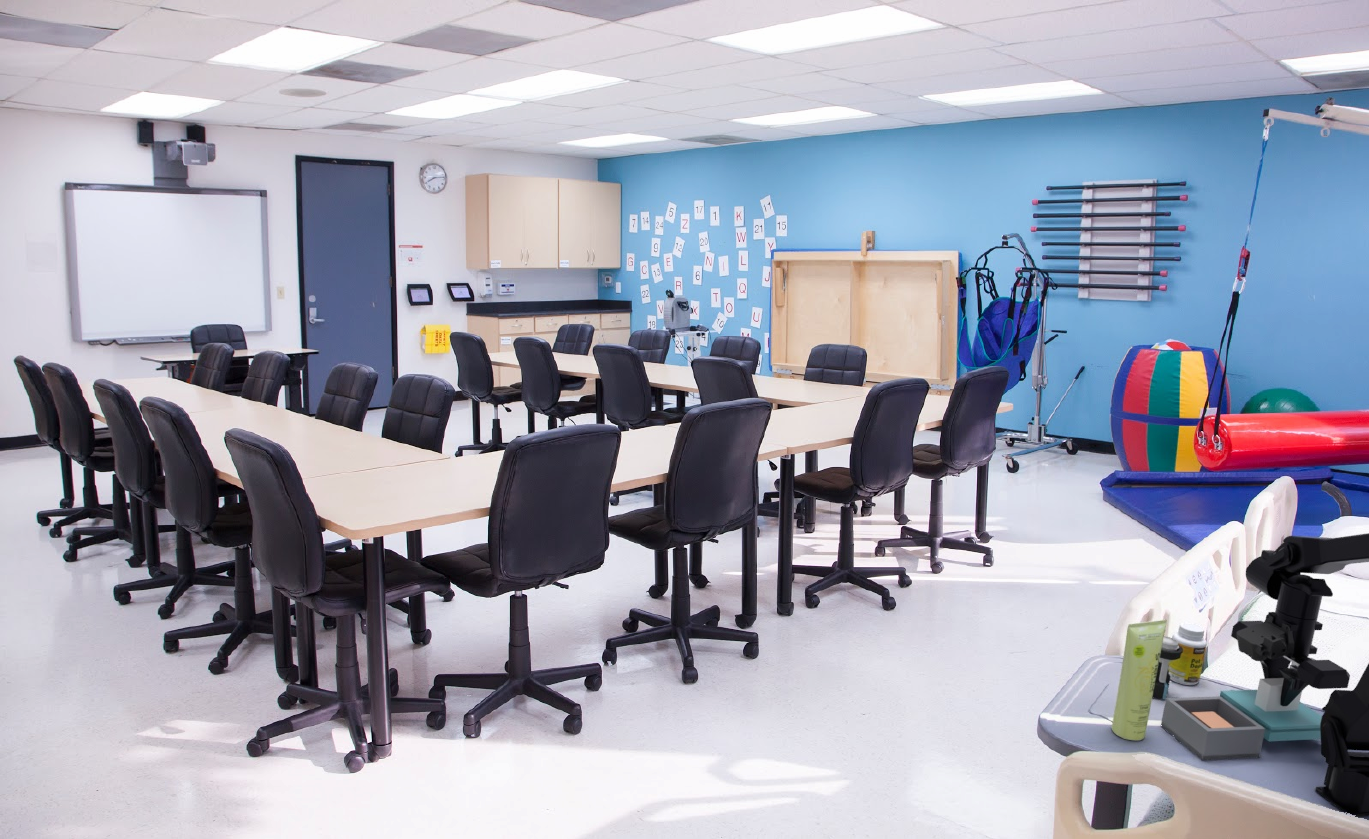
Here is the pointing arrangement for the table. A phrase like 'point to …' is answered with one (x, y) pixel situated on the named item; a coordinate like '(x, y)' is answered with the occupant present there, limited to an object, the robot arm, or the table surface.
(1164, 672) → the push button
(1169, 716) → the storage box
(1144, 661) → the tube
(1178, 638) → the supplement bottle
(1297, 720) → the lid
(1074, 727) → the table surface
